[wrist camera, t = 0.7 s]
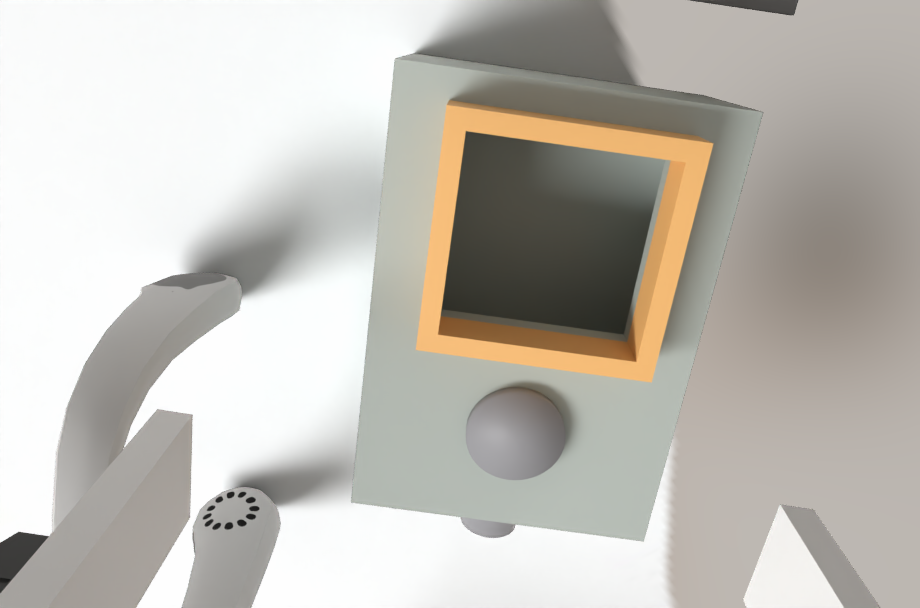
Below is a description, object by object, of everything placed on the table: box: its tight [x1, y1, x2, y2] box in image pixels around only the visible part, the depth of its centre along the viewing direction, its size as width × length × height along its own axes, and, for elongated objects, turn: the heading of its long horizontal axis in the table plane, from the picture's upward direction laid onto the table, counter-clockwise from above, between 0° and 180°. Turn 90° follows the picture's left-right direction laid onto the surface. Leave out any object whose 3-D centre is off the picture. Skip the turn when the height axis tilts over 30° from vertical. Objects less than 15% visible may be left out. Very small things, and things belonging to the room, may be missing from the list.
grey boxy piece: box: [351, 53, 763, 541], centre depth 34 cm, size 23×14×10 cm, turn 172°
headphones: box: [52, 273, 281, 608], centre depth 33 cm, size 18×17×5 cm
